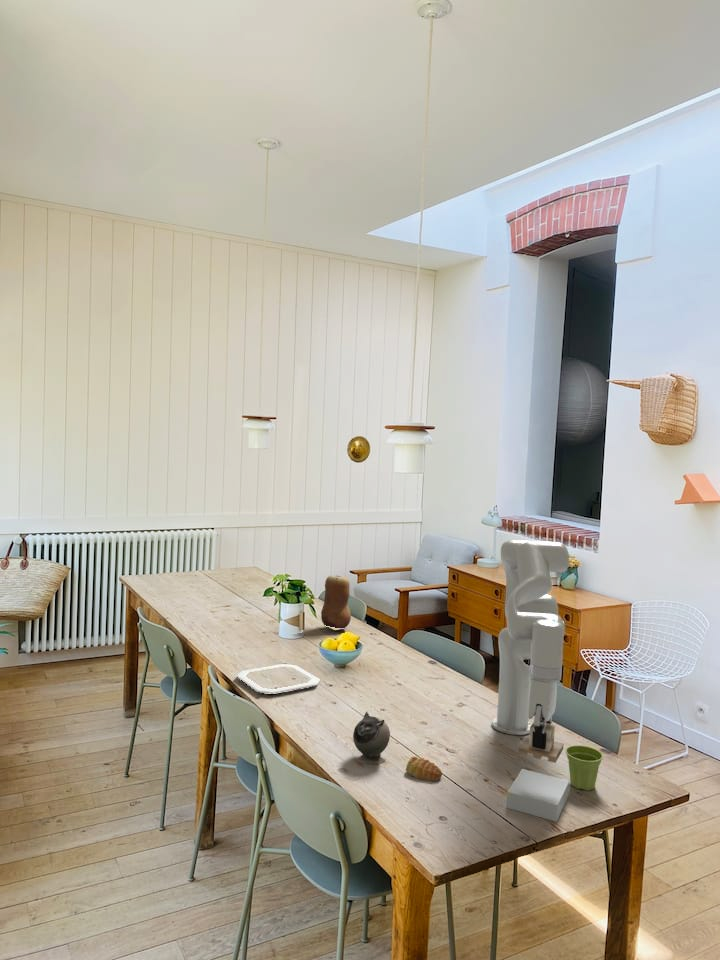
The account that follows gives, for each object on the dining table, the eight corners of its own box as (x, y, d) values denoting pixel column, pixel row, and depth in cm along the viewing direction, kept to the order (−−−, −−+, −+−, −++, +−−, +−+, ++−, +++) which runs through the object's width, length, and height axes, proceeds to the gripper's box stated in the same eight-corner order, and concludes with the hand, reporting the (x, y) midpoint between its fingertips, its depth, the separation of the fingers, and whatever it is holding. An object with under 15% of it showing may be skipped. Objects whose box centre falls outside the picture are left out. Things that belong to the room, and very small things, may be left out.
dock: (521, 783, 185) (522, 768, 185) (568, 796, 180) (569, 780, 180) (506, 807, 173) (507, 791, 173) (556, 821, 167) (557, 805, 167)
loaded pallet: (527, 740, 181) (528, 716, 181) (563, 748, 177) (564, 723, 177) (518, 753, 173) (519, 728, 173) (555, 762, 169) (557, 736, 169)
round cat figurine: (345, 761, 194) (379, 770, 189) (346, 718, 194) (380, 726, 189) (363, 748, 203) (396, 756, 198) (364, 706, 203) (396, 714, 198)
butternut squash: (353, 627, 330) (356, 574, 328) (345, 635, 317) (347, 579, 315) (325, 624, 334) (327, 571, 332) (316, 631, 321) (318, 576, 319)
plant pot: (580, 796, 180) (582, 763, 179) (556, 779, 188) (558, 747, 188) (609, 790, 184) (611, 758, 183) (584, 774, 192) (586, 743, 192)
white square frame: (325, 688, 250) (325, 682, 250) (262, 700, 236) (262, 694, 236) (291, 667, 271) (291, 662, 271) (231, 678, 257) (231, 672, 257)
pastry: (446, 775, 189) (447, 761, 188) (434, 785, 183) (435, 771, 183) (415, 765, 194) (415, 752, 193) (403, 775, 188) (403, 761, 188)
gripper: (538, 659, 184) (534, 728, 185) (521, 678, 168) (517, 753, 169) (568, 665, 180) (564, 735, 181) (553, 684, 165) (549, 760, 166)
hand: (541, 743), depth 175 cm, fingers closed on loaded pallet, 5 cm apart
